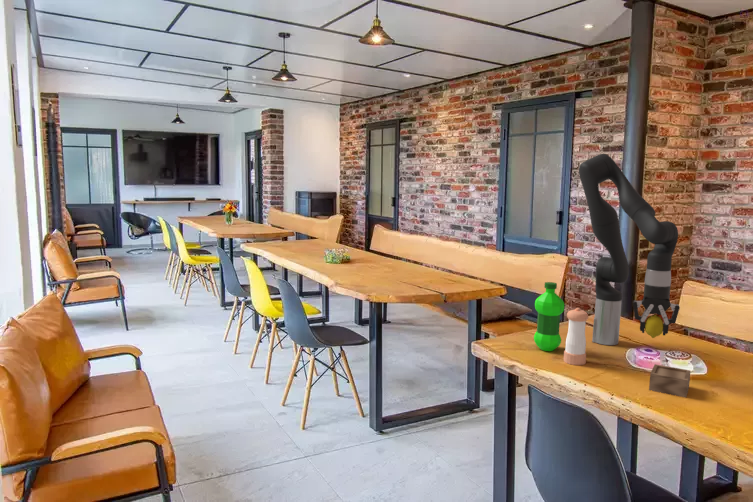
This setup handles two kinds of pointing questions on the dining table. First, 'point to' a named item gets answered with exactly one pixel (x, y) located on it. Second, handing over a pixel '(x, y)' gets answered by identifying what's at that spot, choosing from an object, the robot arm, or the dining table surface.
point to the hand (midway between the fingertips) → (653, 333)
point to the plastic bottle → (548, 318)
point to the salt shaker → (576, 338)
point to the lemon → (654, 326)
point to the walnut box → (669, 380)
